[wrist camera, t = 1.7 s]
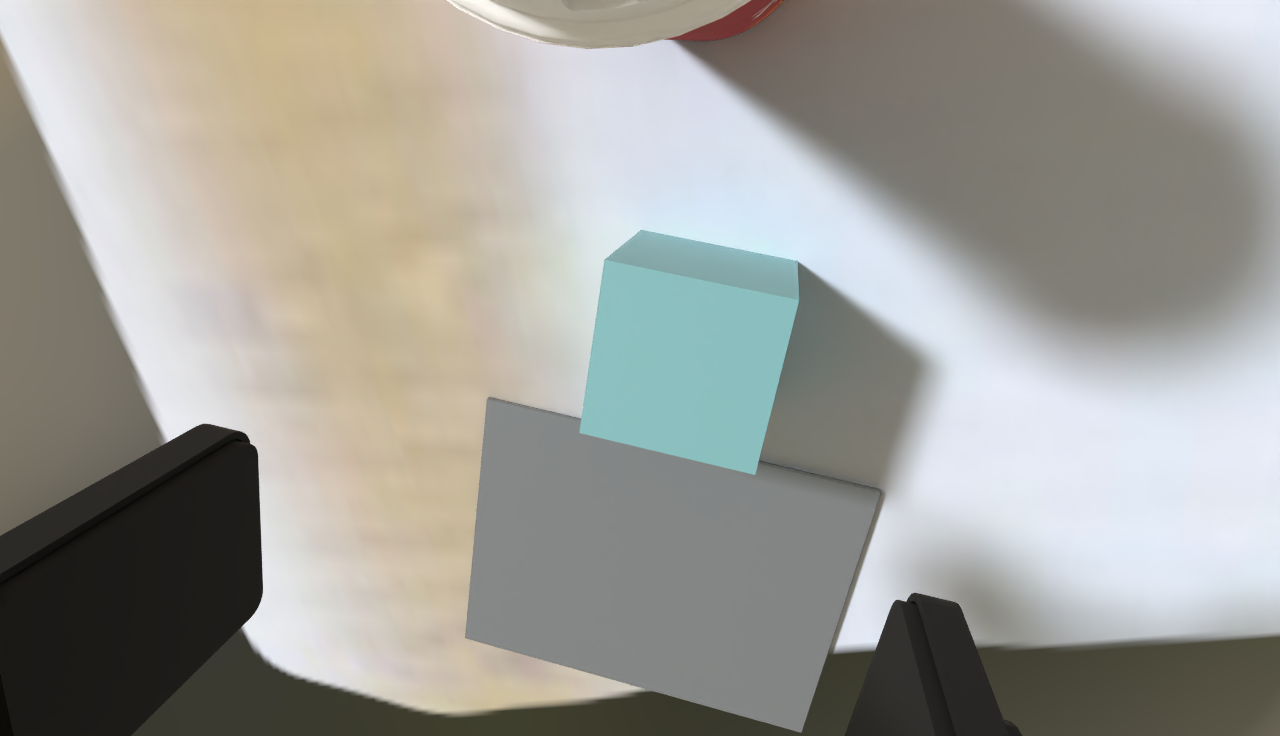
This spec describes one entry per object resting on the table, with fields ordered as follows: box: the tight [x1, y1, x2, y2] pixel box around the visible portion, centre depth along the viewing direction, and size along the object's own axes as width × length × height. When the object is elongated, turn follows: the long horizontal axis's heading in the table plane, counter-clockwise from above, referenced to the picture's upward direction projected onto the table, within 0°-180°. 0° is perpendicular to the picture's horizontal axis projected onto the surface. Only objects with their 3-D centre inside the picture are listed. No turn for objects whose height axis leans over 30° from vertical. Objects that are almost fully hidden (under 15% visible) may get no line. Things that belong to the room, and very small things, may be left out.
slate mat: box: [465, 397, 881, 732], centre depth 27 cm, size 14×11×1 cm
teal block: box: [579, 230, 799, 475], centre depth 21 cm, size 5×5×5 cm
